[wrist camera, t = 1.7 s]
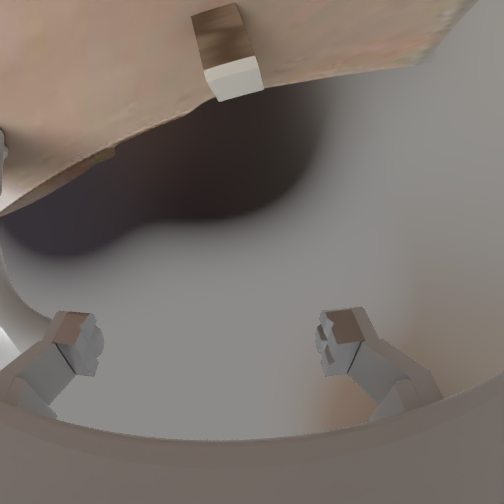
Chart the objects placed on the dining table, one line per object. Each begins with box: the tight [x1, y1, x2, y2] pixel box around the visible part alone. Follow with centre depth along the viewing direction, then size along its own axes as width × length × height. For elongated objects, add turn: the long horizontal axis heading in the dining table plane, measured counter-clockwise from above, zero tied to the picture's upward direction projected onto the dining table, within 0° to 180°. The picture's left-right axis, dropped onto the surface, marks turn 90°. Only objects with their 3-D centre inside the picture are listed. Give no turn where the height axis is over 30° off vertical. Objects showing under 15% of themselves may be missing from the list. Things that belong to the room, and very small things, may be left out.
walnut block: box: [191, 3, 264, 102], centre depth 25 cm, size 5×5×10 cm
